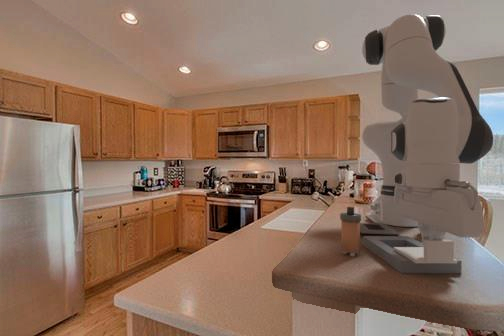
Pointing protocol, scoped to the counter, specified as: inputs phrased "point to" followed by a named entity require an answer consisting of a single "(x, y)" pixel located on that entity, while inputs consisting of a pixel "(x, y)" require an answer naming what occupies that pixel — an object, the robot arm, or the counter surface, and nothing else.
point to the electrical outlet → (377, 230)
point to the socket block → (386, 252)
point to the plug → (350, 232)
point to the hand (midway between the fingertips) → (430, 246)
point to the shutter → (430, 252)
